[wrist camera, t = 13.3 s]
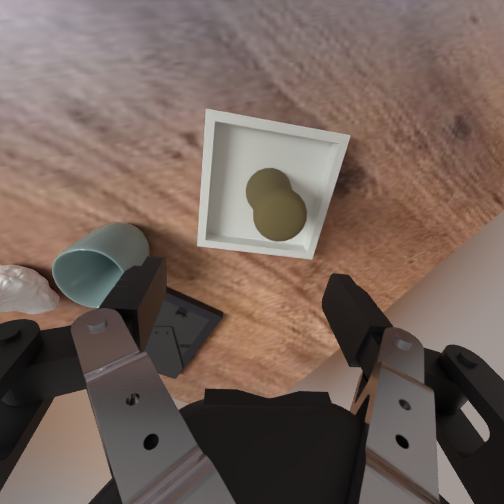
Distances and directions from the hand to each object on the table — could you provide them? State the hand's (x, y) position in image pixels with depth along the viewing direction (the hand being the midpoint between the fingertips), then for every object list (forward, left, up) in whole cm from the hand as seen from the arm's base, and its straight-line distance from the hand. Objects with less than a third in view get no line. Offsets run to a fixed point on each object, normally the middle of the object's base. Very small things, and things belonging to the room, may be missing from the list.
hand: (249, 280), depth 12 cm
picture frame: (+27, -10, -24) cm, 37 cm away
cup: (+10, -15, -23) cm, 29 cm away
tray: (0, +3, -23) cm, 23 cm away
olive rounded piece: (0, +4, -22) cm, 22 cm away
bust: (+18, -30, -23) cm, 42 cm away
